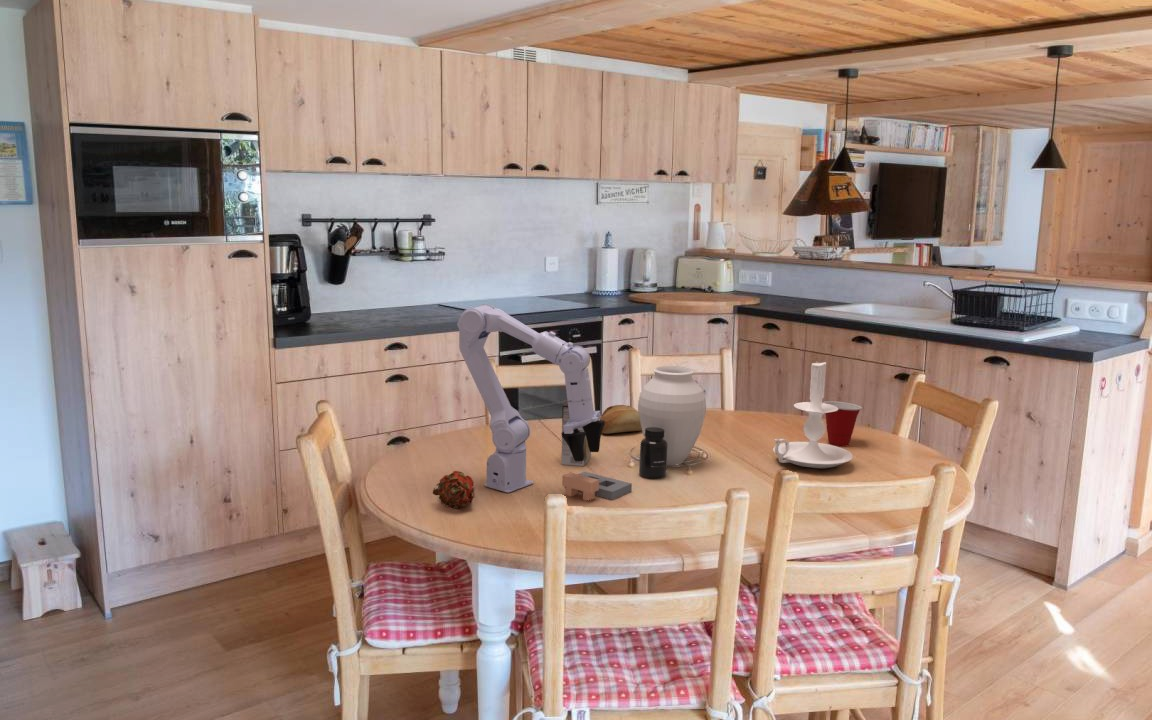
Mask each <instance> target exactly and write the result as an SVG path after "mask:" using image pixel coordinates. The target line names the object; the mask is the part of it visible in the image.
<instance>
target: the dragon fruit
mask: <svg viewBox="0 0 1152 720" xmlns="http://www.w3.org/2000/svg"><path fill="white" fill-rule="evenodd" d="M474 484H475V483H474V479H472V477H471V476H469V475H465V474H464V472H462V471H459V470H454V471H452V473H449V474H445V475H444V476H442V477H441V478H440V479H439V482H438V483H437V484H436V487H437V488H433V489H432V494H433V496H438V499H439V501H440V503H441V504H443V505H444V506H445V507H451V508H453V509H456V510H457V509H458V510H460V509H461V508H463V507H465V506H466V505H468V504H469V505H470V504H471V503H472V501H473V499H474V498H475V487H474Z"/></svg>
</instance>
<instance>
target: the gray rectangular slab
mask: <svg viewBox="0 0 1152 720" xmlns="http://www.w3.org/2000/svg"><path fill="white" fill-rule="evenodd" d="M578 474H579V475H583V476H586V477H590V478H594V479H598V480H599V490H598V491H595V495H596V496H595V497H599V496H600V497H599V498H602V497H604V498H603V499H606V498H608V499H607V500H610V499H611V500H610V501H613V499H614V500H615V498H616V499H618V498H620V497H623V496H624V495H627V494H629V493H631V492H632V485H633V483H631V482H628V481H623V480H620V479H616V478H611V477H609V476H604V475H599V474H596V473H593V472H588V471H583V472H580V473H578ZM564 488H566V486H564ZM578 492H581V493H583V491H581V490H578ZM622 495H623V496H622ZM617 497H618V498H617Z"/></svg>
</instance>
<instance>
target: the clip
mask: <svg viewBox="0 0 1152 720" xmlns="http://www.w3.org/2000/svg"><path fill="white" fill-rule="evenodd" d="M579 474H580V473H575V472H567V473H565V474H563V475H562V476H561V478H562V479H561V480H562V485H561V486H563V487H565V486H566V487H565V496H568V497H574V496H576V495H578V492H579V491H578V490H581V491H583V492H582V500H583V501H586V500H588V501H587V502H590V501H592V500H591V499H593V500H595V499H594V498H595V497H596V496H595V491H598V490H599V480H598V479H594V478H590V477H586V476H583V475H579ZM589 500H590V501H589Z"/></svg>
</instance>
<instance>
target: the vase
mask: <svg viewBox="0 0 1152 720" xmlns="http://www.w3.org/2000/svg"><path fill="white" fill-rule="evenodd" d="M653 372H654V376H653V377H652V378H651V379H650V380H648V382H647V383H646V384H645V385H644V386H643V387H642V389H641V392H640V394H639V396H638V400H637V402H638V404H637V411H638V412H639V418H640V423H641V428H642V429H641V431H642V435H643V437H644V438H646V437H645V429H646V428H649V427H657V428H662V429H664V438H663V439H664V440H665V441H666V442H667V444H668V447H667V464H666V466H677V465H676V464H680V465H682V464H683V463H682V462H684V461H685V460H686V459H687V458H688V456H689V455H690V453H691V452H692V450H693V448H694V447H695V445H696V443H697V440H698V439H699V436H700V434H701V431H702V428H703V425H704V421H705V417H706V413H707V402H706V396H705V394H704V391H703V388H702V387H701V386H700V385H699V384H698V383H697V382H696V381H695V380H694V378H693V374H694V373H695V372H694V370H692V369H690V368H689V367H685V366H677V365H675V366H674V365H664V366H663V365H662V366H658V367H655V368H653ZM644 438H643V439H644ZM681 463H682V464H681Z"/></svg>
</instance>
